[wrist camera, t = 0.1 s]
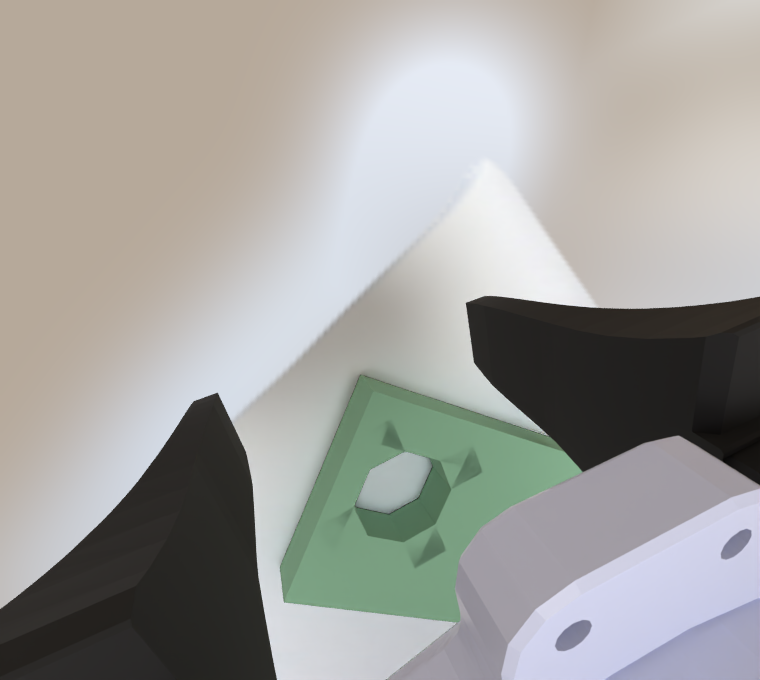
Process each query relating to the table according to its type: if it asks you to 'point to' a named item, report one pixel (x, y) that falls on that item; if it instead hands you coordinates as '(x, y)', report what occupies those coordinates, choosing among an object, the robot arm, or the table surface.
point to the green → (417, 519)
